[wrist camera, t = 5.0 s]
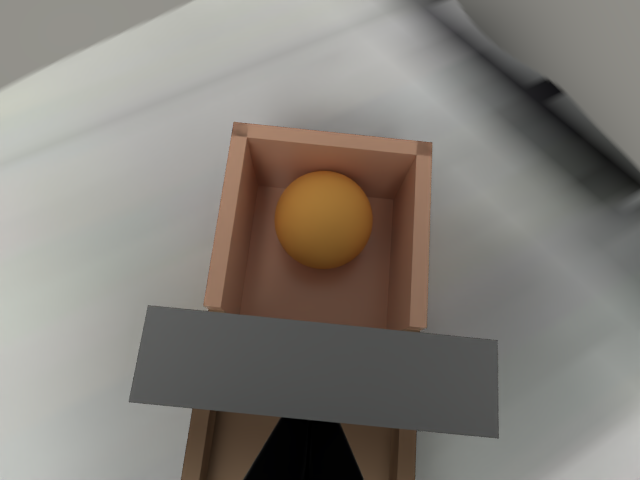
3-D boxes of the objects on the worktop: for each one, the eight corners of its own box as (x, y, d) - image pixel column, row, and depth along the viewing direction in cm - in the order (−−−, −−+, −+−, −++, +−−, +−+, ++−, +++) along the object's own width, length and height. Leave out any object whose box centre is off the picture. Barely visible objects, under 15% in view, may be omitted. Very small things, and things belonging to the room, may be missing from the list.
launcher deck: (384, 582, 16) (409, 643, 12) (191, 563, 16) (158, 619, 12) (396, 339, 18) (419, 330, 14) (227, 322, 18) (208, 309, 14)
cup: (396, 339, 18) (426, 327, 13) (227, 322, 18) (203, 305, 13) (403, 193, 19) (432, 142, 15) (248, 178, 19) (233, 121, 15)
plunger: (381, 400, 14) (499, 438, 6) (232, 385, 14) (128, 402, 6) (383, 360, 15) (497, 340, 6) (238, 346, 15) (147, 305, 6)
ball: (397, 176, 16) (389, 275, 16) (336, 187, 19) (328, 272, 19) (317, 151, 14) (306, 264, 14) (262, 168, 17) (251, 262, 17)
